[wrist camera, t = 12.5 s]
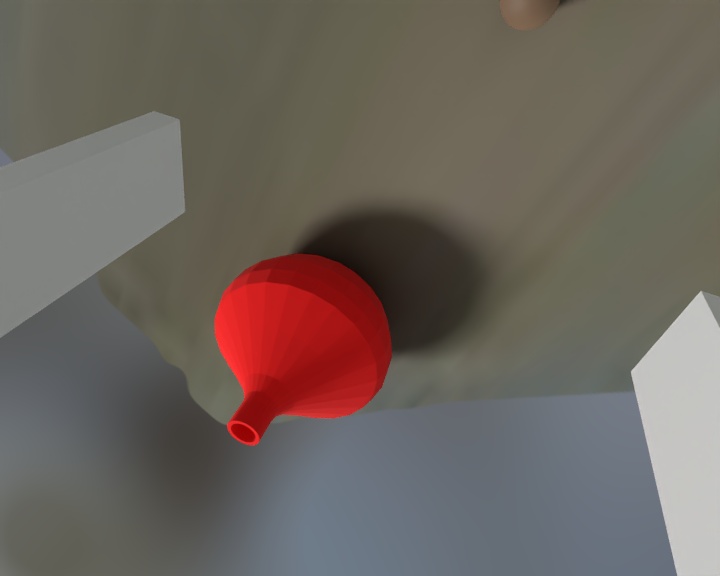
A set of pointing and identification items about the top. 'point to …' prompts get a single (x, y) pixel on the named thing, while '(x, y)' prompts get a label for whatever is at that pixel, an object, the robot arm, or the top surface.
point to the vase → (301, 341)
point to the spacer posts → (527, 12)
